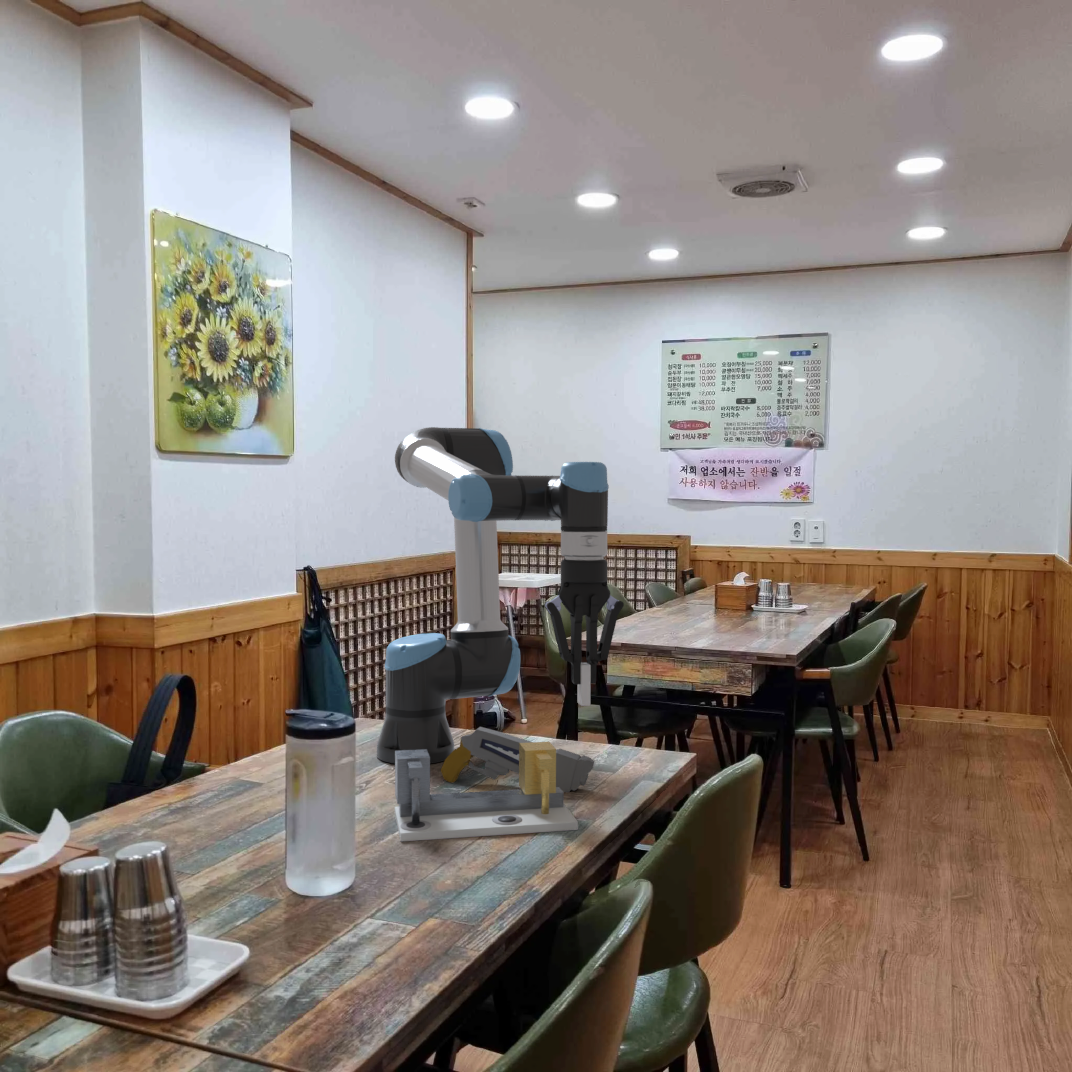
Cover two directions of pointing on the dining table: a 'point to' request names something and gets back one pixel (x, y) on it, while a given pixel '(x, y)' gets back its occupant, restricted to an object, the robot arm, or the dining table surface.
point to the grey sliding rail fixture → (419, 801)
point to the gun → (511, 759)
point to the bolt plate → (485, 823)
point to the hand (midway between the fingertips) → (583, 703)
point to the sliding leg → (538, 770)
